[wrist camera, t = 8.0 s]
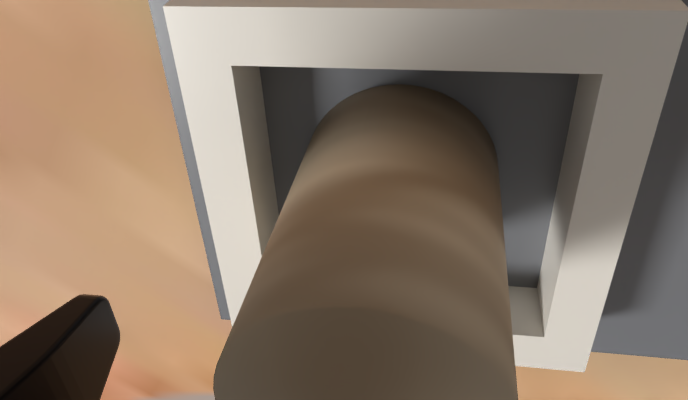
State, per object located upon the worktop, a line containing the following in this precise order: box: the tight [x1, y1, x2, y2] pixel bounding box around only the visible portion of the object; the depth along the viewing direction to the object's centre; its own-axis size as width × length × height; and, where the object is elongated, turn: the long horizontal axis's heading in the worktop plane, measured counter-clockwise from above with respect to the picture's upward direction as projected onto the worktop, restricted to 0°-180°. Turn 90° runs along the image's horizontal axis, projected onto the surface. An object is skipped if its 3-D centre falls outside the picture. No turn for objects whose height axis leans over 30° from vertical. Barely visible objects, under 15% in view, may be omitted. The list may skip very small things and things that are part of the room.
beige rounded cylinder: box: [213, 84, 518, 400], centre depth 10 cm, size 4×4×6 cm
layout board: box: [148, 0, 688, 372], centre depth 11 cm, size 16×10×4 cm, turn 93°
